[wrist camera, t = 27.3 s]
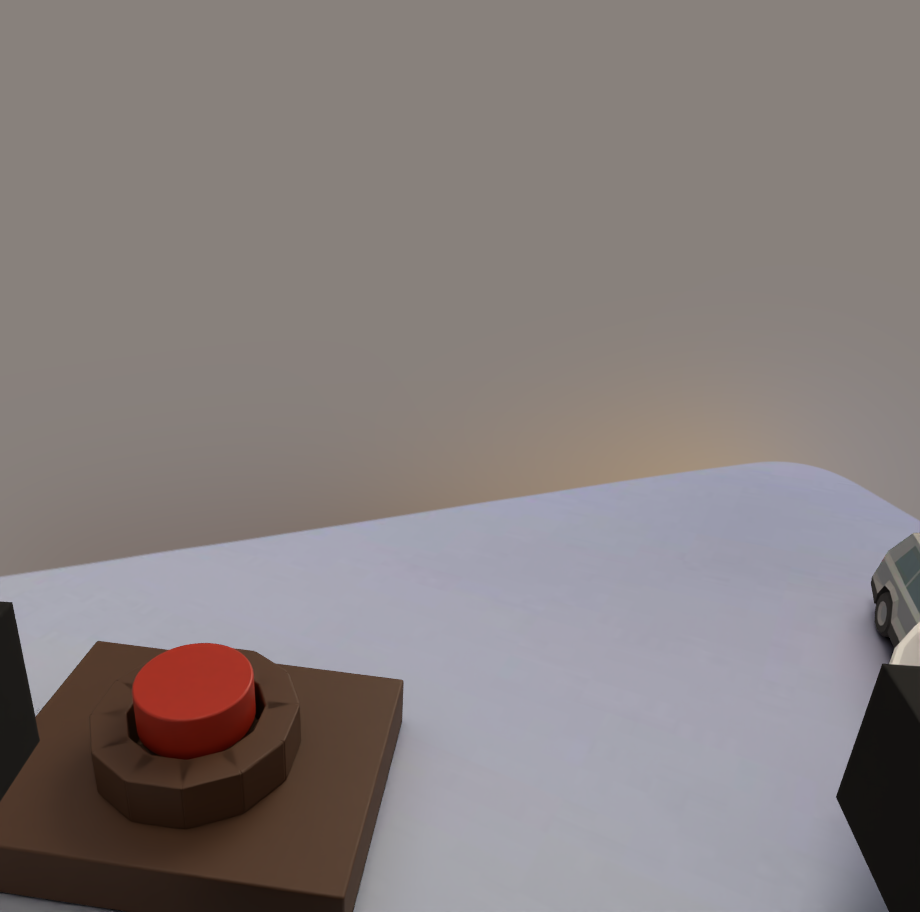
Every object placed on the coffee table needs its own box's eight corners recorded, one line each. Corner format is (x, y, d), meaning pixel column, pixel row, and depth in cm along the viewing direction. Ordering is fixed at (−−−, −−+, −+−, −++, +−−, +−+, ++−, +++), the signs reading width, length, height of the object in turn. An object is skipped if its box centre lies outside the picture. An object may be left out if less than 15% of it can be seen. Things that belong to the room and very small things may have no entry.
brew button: (115, 752, 28) (109, 711, 28) (167, 673, 32) (162, 636, 31) (232, 768, 28) (228, 728, 27) (270, 687, 32) (269, 649, 31)
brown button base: (-51, 885, 27) (-77, 795, 26) (103, 681, 36) (91, 604, 35) (344, 946, 26) (344, 856, 25) (402, 720, 35) (405, 643, 34)
